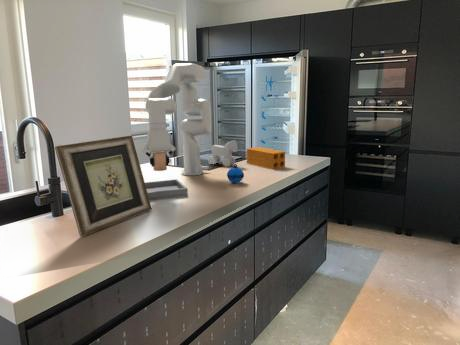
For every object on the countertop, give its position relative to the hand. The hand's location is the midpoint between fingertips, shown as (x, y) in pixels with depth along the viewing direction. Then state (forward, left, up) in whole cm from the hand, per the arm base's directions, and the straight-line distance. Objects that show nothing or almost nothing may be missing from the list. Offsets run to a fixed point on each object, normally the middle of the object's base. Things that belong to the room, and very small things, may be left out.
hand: (159, 165), depth 173 cm
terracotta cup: (0, 0, -2) cm, 2 cm away
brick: (-74, -38, -14) cm, 85 cm away
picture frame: (+25, +31, -14) cm, 42 cm away
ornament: (-39, -3, -14) cm, 42 cm away
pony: (-50, -50, -14) cm, 72 cm away
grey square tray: (0, 0, -13) cm, 13 cm away
